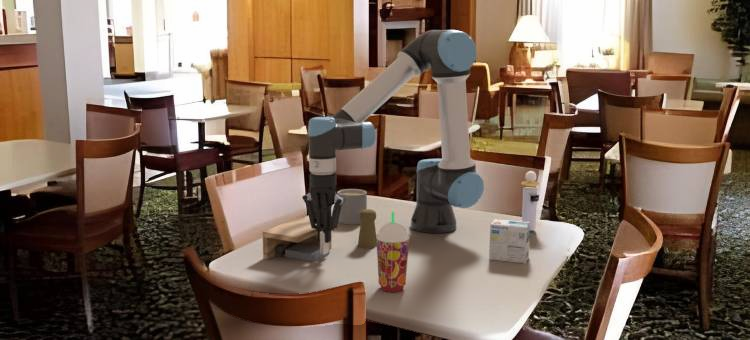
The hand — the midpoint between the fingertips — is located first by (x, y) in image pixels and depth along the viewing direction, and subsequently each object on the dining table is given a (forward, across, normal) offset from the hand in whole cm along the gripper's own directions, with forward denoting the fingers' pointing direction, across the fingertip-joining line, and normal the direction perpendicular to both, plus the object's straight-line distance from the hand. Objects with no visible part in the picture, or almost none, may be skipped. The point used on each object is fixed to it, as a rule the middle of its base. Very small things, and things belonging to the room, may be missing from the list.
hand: (324, 252), depth 207 cm
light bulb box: (+3, +47, +25) cm, 53 cm away
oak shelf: (+1, -9, 0) cm, 9 cm away
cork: (+2, +5, +17) cm, 18 cm away
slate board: (+2, -6, 0) cm, 6 cm away
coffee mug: (+1, -14, +41) cm, 44 cm away
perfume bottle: (+2, +44, +56) cm, 71 cm away
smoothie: (+2, +28, -13) cm, 31 cm away
